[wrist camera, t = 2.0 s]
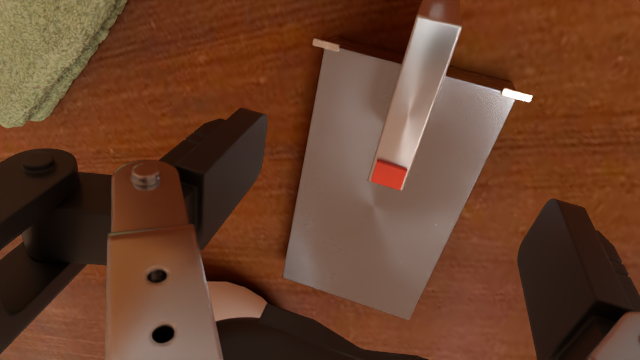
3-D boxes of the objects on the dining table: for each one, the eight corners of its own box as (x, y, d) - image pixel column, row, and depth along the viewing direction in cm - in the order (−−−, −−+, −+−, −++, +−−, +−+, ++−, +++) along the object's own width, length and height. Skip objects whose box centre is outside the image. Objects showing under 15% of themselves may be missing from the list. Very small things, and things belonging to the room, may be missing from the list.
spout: (425, -9, 19) (416, 15, 14) (459, -1, 19) (463, 27, 13) (384, 126, 23) (365, 184, 18) (413, 134, 22) (402, 195, 17)
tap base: (344, -84, 20) (334, -85, 18) (581, -32, 18) (595, -27, 17) (283, 257, 33) (273, 276, 31) (418, 303, 32) (416, 325, 30)
